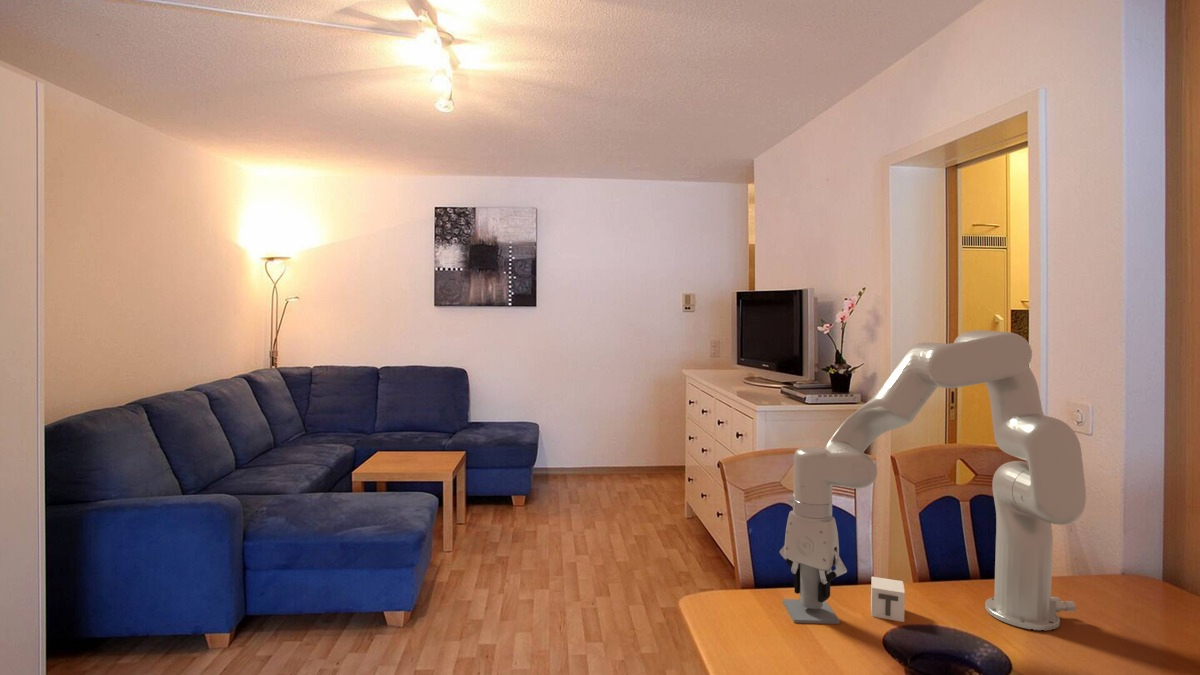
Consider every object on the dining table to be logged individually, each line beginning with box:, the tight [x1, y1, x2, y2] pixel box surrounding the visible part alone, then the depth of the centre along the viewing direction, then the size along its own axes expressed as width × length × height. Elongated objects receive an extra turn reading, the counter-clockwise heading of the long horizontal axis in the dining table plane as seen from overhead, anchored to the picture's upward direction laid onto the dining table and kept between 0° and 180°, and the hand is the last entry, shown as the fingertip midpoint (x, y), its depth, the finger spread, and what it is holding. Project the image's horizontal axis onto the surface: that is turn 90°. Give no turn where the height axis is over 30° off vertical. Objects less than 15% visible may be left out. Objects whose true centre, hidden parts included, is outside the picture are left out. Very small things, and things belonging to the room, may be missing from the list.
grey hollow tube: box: [799, 564, 823, 609], centre depth 127 cm, size 4×4×10 cm
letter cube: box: [870, 576, 906, 623], centre depth 127 cm, size 6×6×6 cm
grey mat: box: [782, 598, 841, 625], centre depth 127 cm, size 9×9×1 cm
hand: (811, 594), depth 127 cm, fingers closed on grey hollow tube, 4 cm apart
